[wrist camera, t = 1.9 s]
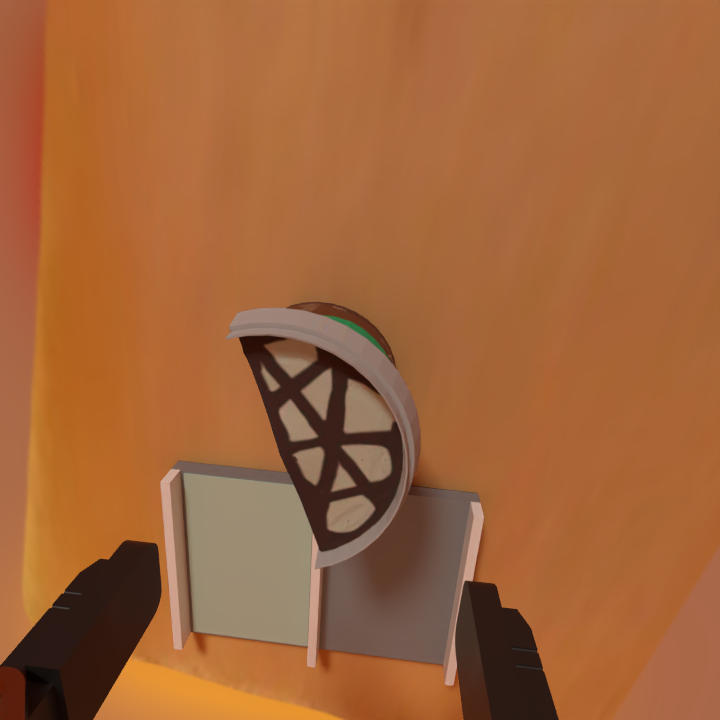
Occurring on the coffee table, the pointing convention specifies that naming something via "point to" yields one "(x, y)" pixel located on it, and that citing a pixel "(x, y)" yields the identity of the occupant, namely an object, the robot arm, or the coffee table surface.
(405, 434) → the food container
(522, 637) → the robot arm
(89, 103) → the coffee table surface
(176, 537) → the sorting board
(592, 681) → the coffee table surface
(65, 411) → the coffee table surface
